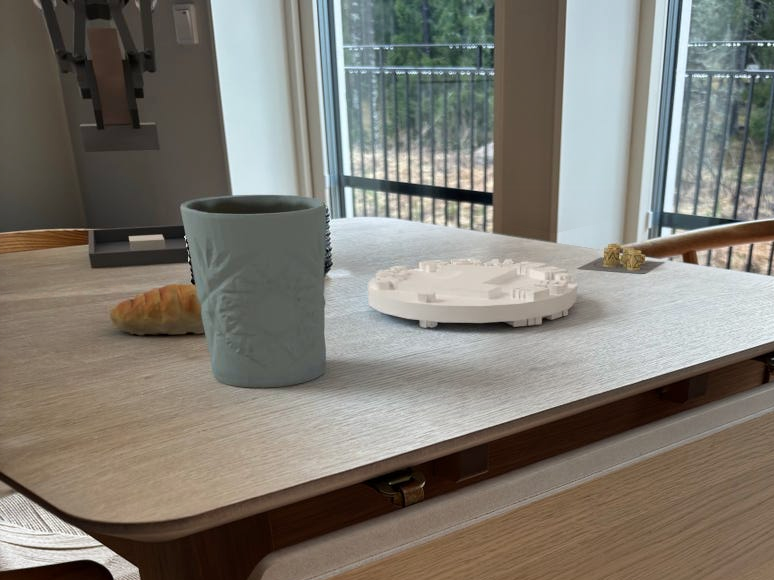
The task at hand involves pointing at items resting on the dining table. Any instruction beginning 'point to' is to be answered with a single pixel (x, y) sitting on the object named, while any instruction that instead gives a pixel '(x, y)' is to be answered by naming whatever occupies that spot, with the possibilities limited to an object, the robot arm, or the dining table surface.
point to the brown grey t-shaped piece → (113, 101)
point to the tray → (116, 250)
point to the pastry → (161, 311)
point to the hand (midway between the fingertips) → (117, 119)
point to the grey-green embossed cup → (260, 286)
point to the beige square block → (147, 242)
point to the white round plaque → (474, 292)
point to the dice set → (622, 261)
